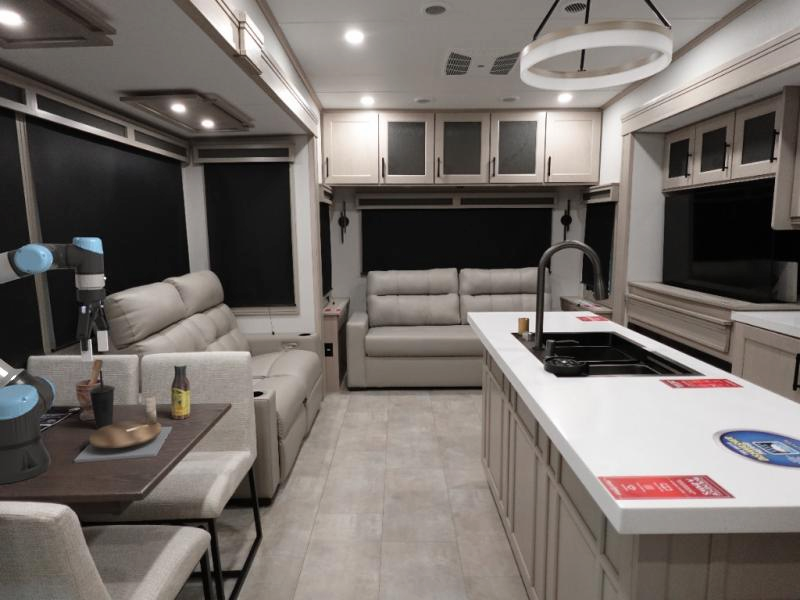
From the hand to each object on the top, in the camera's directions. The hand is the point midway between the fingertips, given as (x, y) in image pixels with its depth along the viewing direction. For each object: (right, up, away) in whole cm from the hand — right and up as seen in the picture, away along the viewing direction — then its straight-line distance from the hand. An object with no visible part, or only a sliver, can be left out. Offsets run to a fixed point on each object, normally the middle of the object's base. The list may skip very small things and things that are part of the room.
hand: (95, 355), depth 156 cm
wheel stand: (+8, -29, +3) cm, 30 cm away
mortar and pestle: (-18, -25, +28) cm, 42 cm away
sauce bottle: (+15, -26, +27) cm, 40 cm away
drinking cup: (-7, -27, +17) cm, 33 cm away
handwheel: (+8, -28, +3) cm, 29 cm away
